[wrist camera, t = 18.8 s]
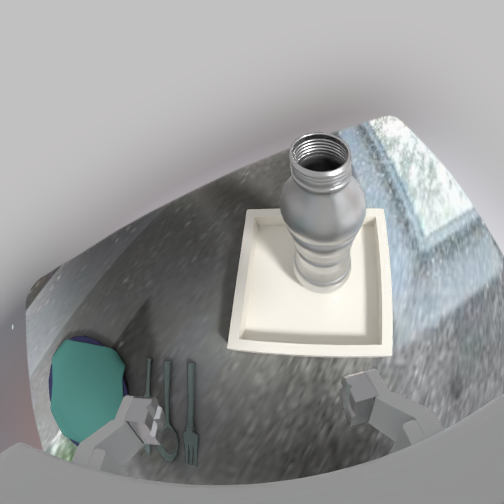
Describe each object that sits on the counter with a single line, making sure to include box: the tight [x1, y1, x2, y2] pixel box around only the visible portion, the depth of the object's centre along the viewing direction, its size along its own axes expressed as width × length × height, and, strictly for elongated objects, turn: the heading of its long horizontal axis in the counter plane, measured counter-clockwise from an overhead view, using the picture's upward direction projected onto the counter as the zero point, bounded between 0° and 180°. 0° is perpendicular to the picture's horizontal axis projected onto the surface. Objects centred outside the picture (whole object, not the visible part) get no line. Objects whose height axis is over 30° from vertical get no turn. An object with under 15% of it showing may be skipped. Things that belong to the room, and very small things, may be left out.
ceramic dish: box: [227, 208, 393, 358], centre depth 32 cm, size 18×18×3 cm
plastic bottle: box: [280, 132, 367, 294], centre depth 24 cm, size 6×7×20 cm
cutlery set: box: [49, 336, 199, 466], centre depth 31 cm, size 20×30×2 cm, turn 89°
